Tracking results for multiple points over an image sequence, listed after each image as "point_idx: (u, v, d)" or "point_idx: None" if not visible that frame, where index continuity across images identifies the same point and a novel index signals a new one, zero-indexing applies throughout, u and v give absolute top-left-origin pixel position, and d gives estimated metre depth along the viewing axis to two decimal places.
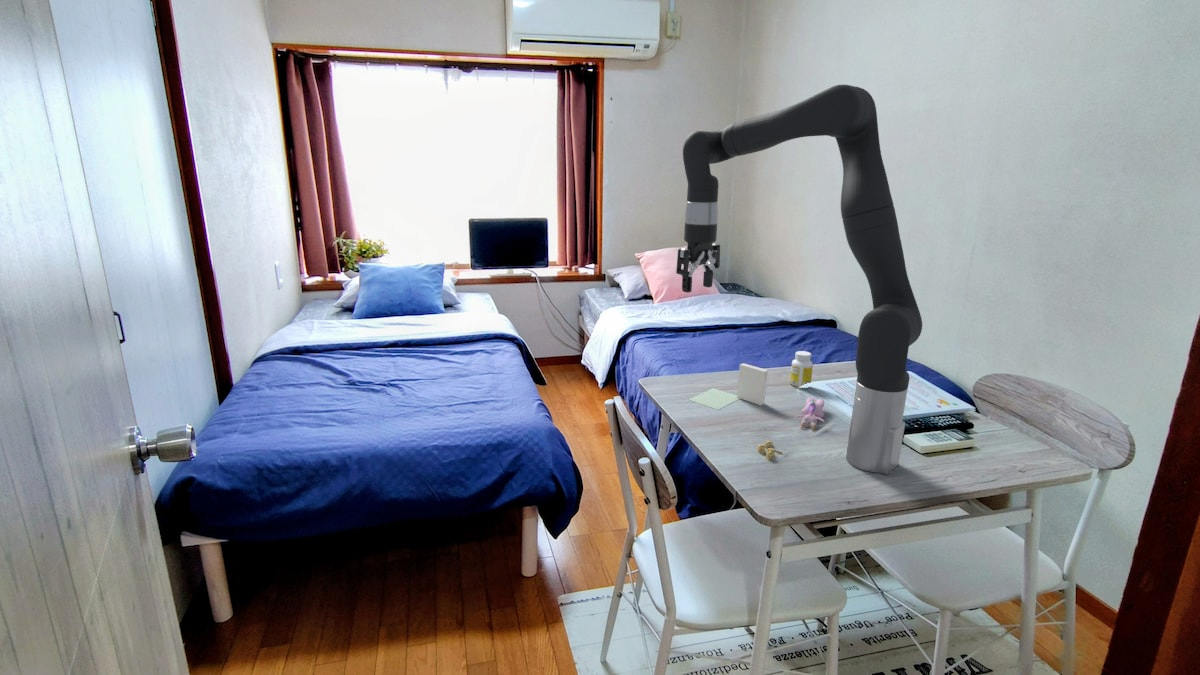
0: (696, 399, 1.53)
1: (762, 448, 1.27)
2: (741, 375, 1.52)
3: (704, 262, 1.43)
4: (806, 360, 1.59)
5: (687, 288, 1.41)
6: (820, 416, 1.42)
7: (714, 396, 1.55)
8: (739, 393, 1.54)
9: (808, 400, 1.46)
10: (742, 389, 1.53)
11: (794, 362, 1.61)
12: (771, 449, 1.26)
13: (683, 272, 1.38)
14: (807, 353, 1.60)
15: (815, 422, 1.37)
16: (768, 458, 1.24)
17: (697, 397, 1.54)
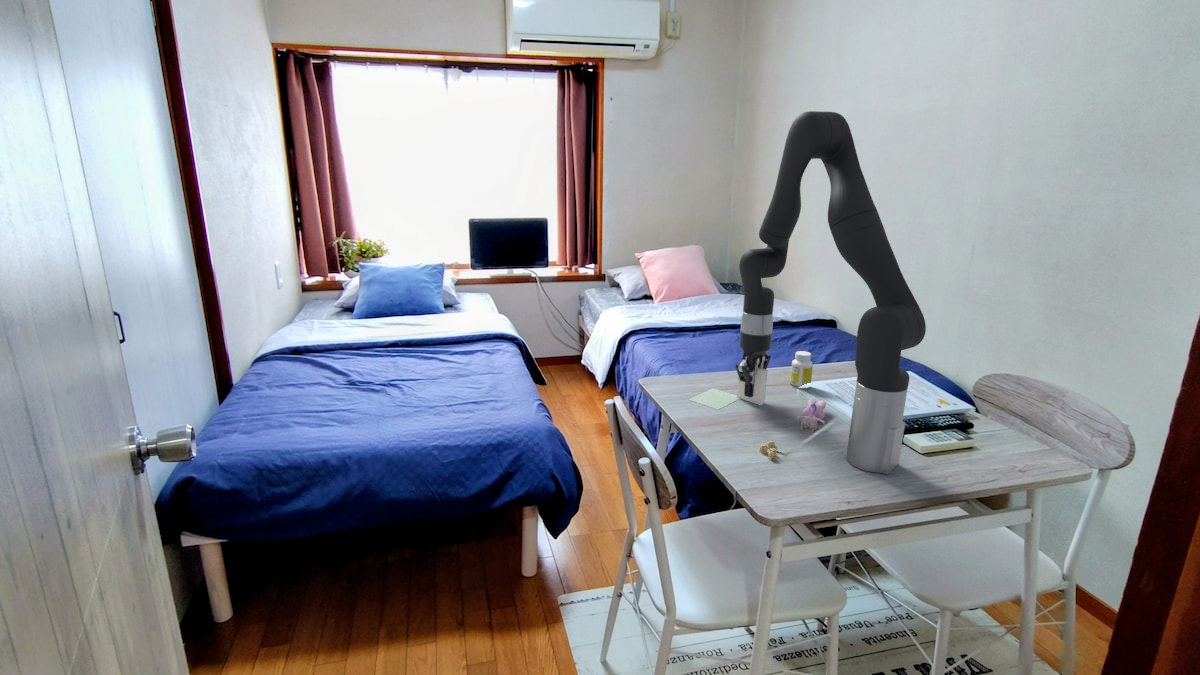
0: (696, 399, 1.53)
1: (764, 448, 1.27)
2: None
3: None
4: (806, 360, 1.59)
5: (749, 393, 1.50)
6: (821, 417, 1.41)
7: (714, 396, 1.55)
8: (739, 393, 1.54)
9: (809, 401, 1.45)
10: (742, 389, 1.53)
11: (794, 362, 1.61)
12: (773, 449, 1.26)
13: (747, 380, 1.48)
14: (807, 353, 1.60)
15: (815, 423, 1.37)
16: (770, 458, 1.24)
17: (697, 397, 1.54)
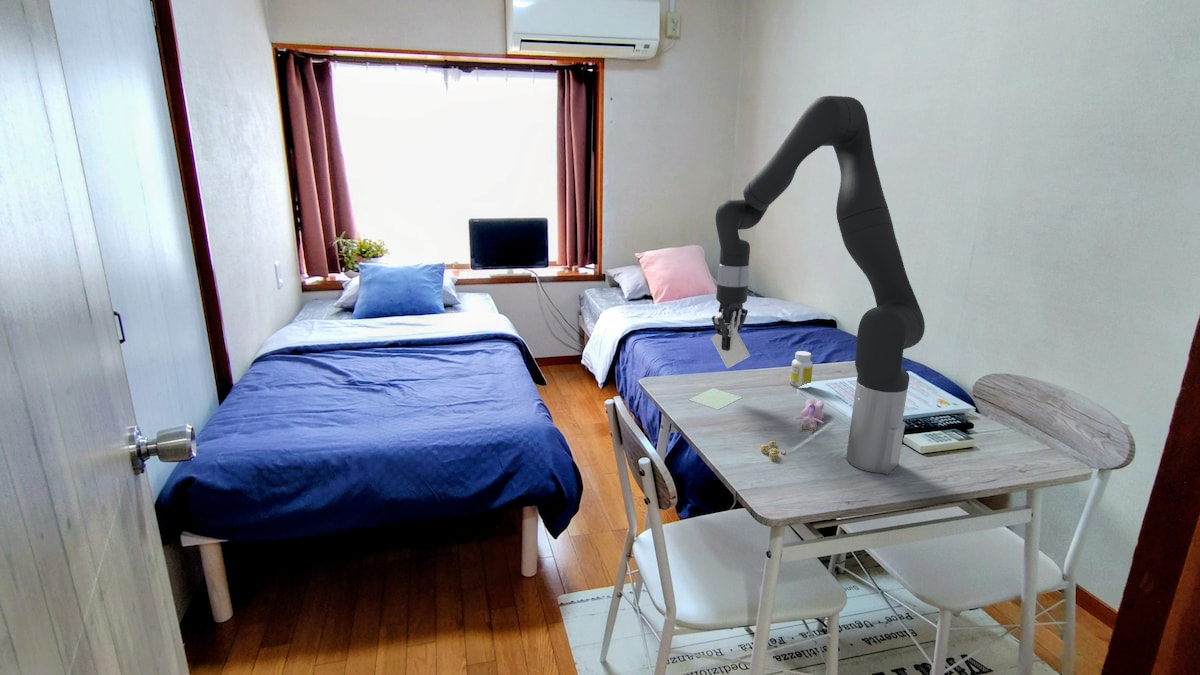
0: (696, 399, 1.53)
1: (765, 448, 1.26)
2: (717, 345, 1.54)
3: None
4: (806, 360, 1.59)
5: (726, 347, 1.51)
6: (819, 418, 1.41)
7: (714, 396, 1.55)
8: (726, 363, 1.53)
9: (808, 402, 1.45)
10: (726, 357, 1.53)
11: (794, 362, 1.61)
12: (774, 449, 1.26)
13: (723, 333, 1.49)
14: (807, 353, 1.60)
15: (814, 424, 1.36)
16: (771, 458, 1.24)
17: (697, 397, 1.54)
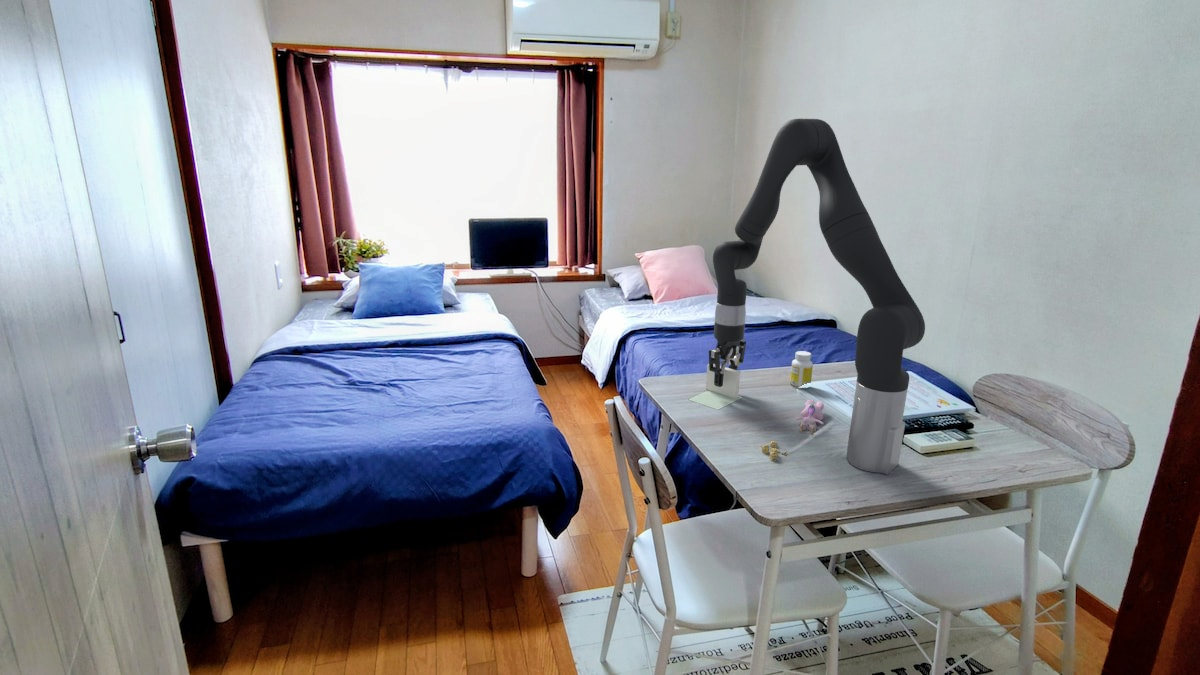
0: (696, 399, 1.53)
1: (766, 448, 1.27)
2: (714, 388, 1.58)
3: (731, 356, 1.53)
4: (806, 360, 1.59)
5: (719, 383, 1.52)
6: (819, 419, 1.40)
7: (714, 396, 1.55)
8: (731, 394, 1.54)
9: (807, 402, 1.45)
10: (726, 390, 1.55)
11: (794, 362, 1.61)
12: (775, 449, 1.26)
13: (716, 370, 1.50)
14: (807, 353, 1.60)
15: (814, 425, 1.36)
16: (771, 458, 1.24)
17: (697, 397, 1.54)
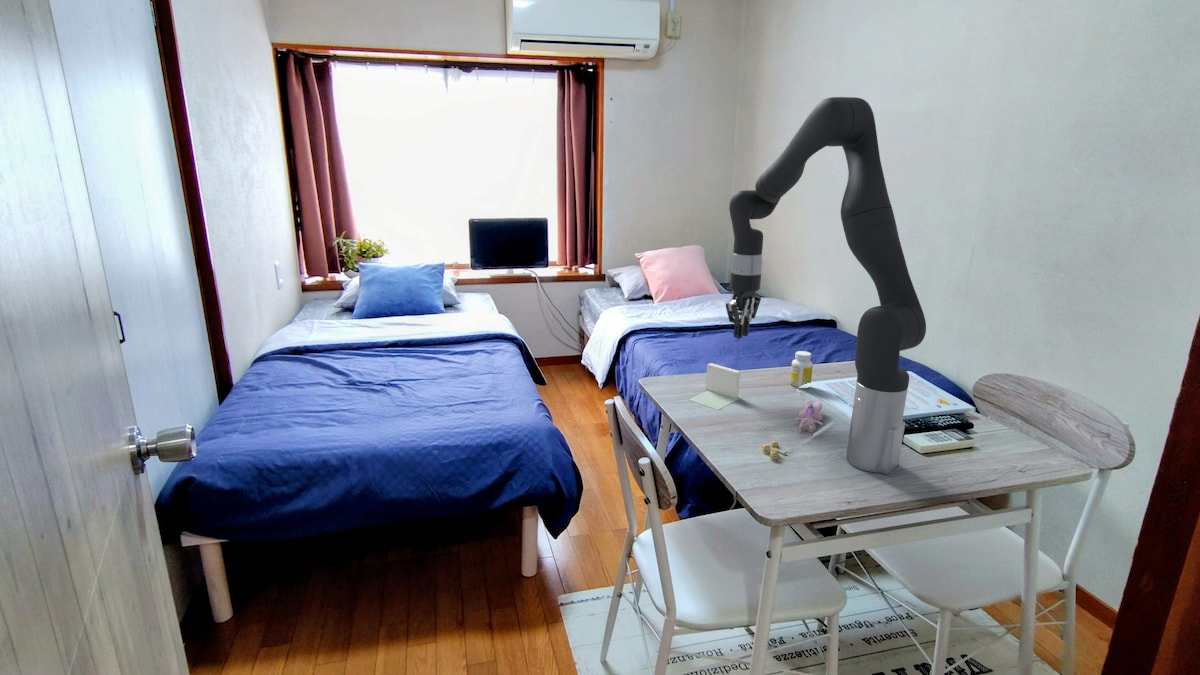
0: (696, 399, 1.53)
1: (767, 448, 1.27)
2: (714, 388, 1.58)
3: None
4: (806, 360, 1.59)
5: (739, 334, 1.54)
6: (818, 419, 1.40)
7: (714, 396, 1.55)
8: (731, 394, 1.54)
9: (805, 403, 1.44)
10: (726, 390, 1.55)
11: (794, 362, 1.61)
12: (776, 449, 1.26)
13: (736, 321, 1.52)
14: (807, 353, 1.60)
15: (813, 425, 1.36)
16: (772, 458, 1.24)
17: (697, 397, 1.54)
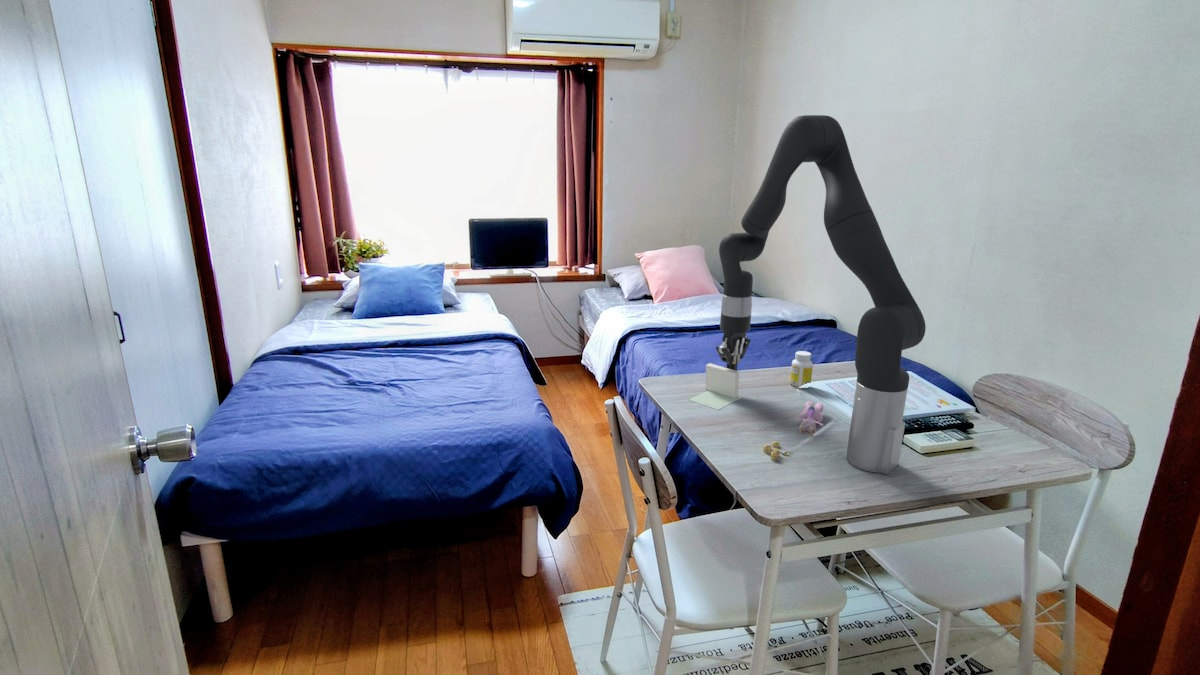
0: (696, 399, 1.53)
1: (767, 448, 1.27)
2: (714, 388, 1.58)
3: None
4: (806, 360, 1.59)
5: None
6: (819, 420, 1.40)
7: (714, 396, 1.55)
8: (731, 394, 1.54)
9: (807, 404, 1.44)
10: (726, 390, 1.55)
11: (794, 362, 1.61)
12: (776, 450, 1.26)
13: None
14: (807, 353, 1.60)
15: (814, 426, 1.35)
16: (772, 458, 1.24)
17: (697, 397, 1.54)
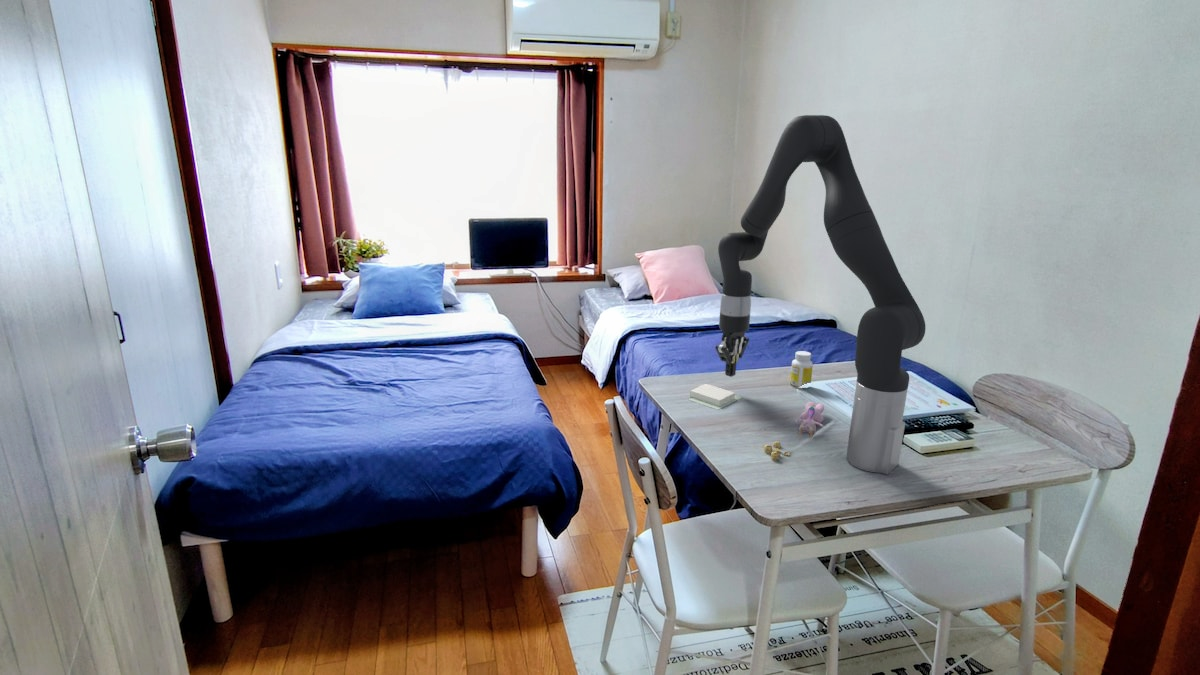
0: (696, 399, 1.53)
1: (768, 448, 1.27)
2: None
3: None
4: (806, 360, 1.59)
5: (730, 373, 1.56)
6: (819, 421, 1.39)
7: None
8: None
9: (807, 404, 1.43)
10: None
11: (794, 362, 1.61)
12: (777, 450, 1.26)
13: None
14: (807, 353, 1.60)
15: (814, 427, 1.35)
16: (772, 458, 1.24)
17: None
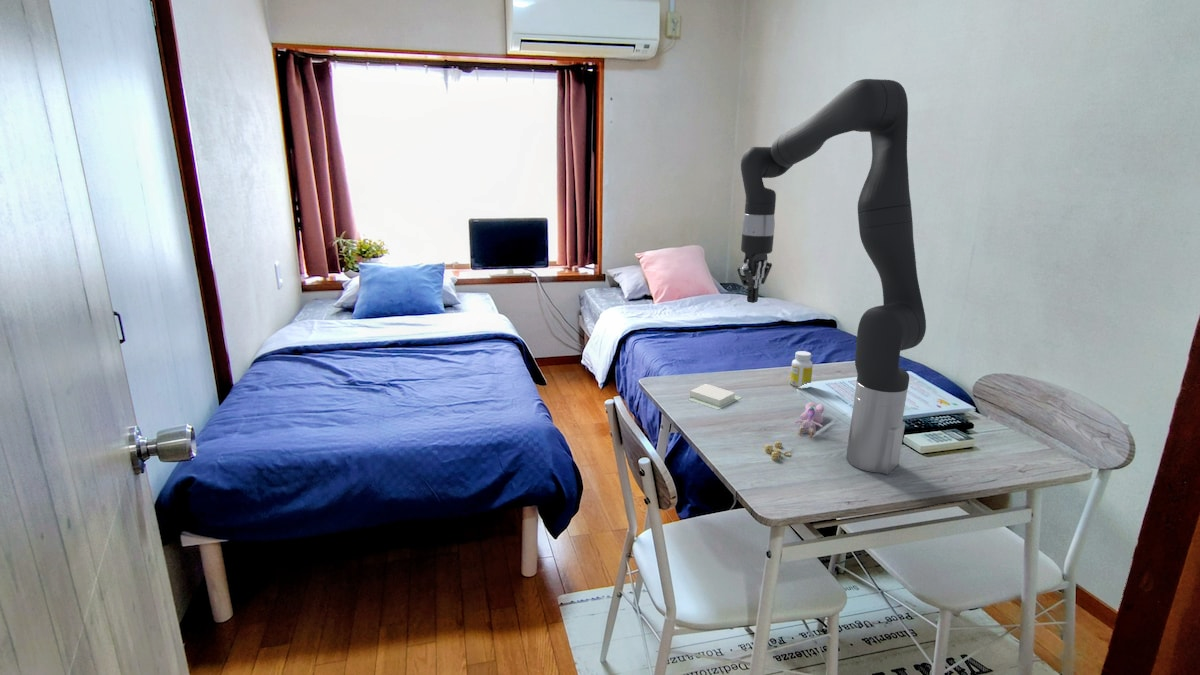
0: (696, 399, 1.53)
1: (769, 448, 1.27)
2: None
3: None
4: (806, 360, 1.59)
5: (752, 299, 1.50)
6: (819, 422, 1.39)
7: None
8: None
9: (807, 405, 1.43)
10: None
11: (794, 362, 1.61)
12: (778, 450, 1.26)
13: (750, 284, 1.47)
14: (807, 353, 1.60)
15: (813, 428, 1.34)
16: (773, 458, 1.24)
17: None
